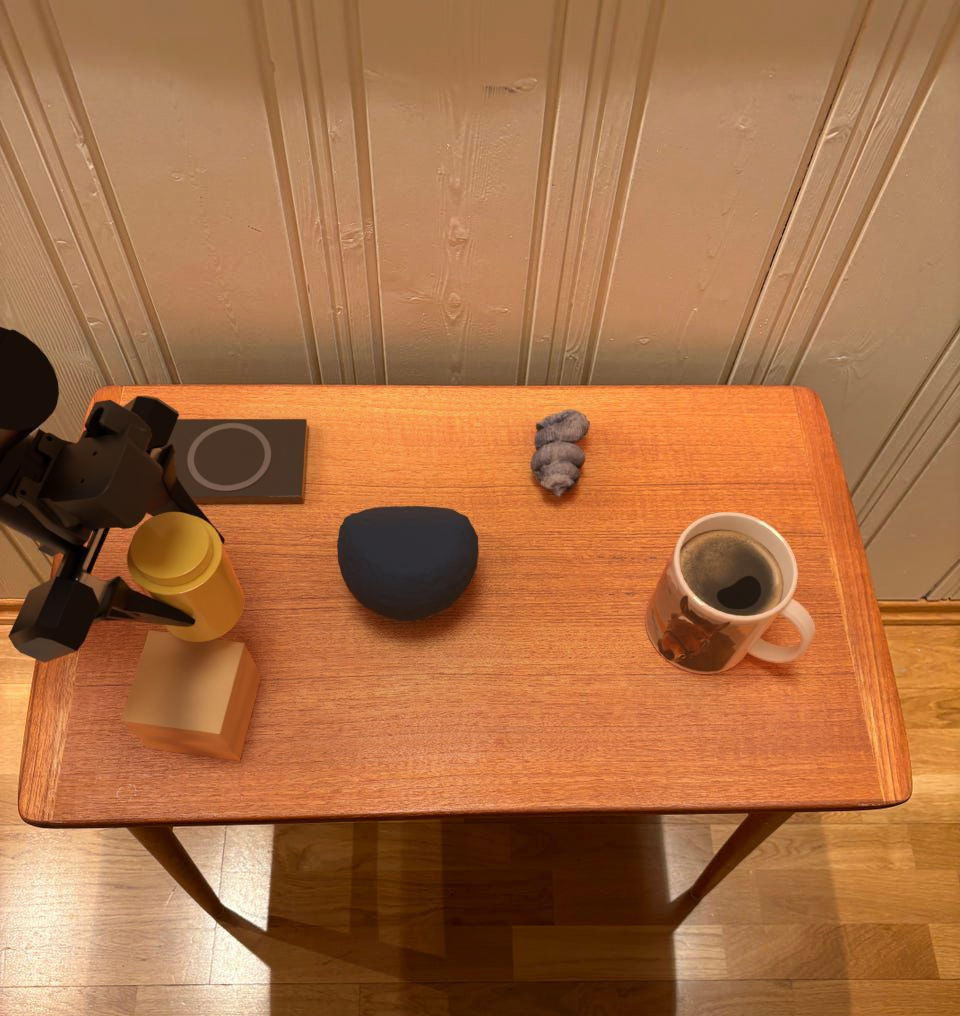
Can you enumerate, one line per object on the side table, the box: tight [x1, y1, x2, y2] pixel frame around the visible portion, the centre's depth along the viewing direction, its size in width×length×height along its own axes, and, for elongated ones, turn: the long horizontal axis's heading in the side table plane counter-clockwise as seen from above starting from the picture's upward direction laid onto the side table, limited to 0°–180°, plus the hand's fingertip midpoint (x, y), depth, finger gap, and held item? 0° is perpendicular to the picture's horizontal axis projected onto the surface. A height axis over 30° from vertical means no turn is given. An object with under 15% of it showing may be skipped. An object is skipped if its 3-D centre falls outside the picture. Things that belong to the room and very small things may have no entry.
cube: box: [120, 629, 262, 762], centre depth 70 cm, size 8×8×7 cm
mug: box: [644, 511, 816, 675], centre depth 73 cm, size 10×12×11 cm
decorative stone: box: [336, 505, 480, 623], centre depth 74 cm, size 12×12×10 cm
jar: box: [126, 512, 246, 642], centre depth 63 cm, size 6×6×9 cm
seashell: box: [530, 408, 591, 498], centre depth 83 cm, size 5×5×10 cm
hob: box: [160, 418, 309, 505], centre depth 83 cm, size 14×9×1 cm, turn 92°
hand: (207, 583), depth 63 cm, fingers closed on jar, 6 cm apart
